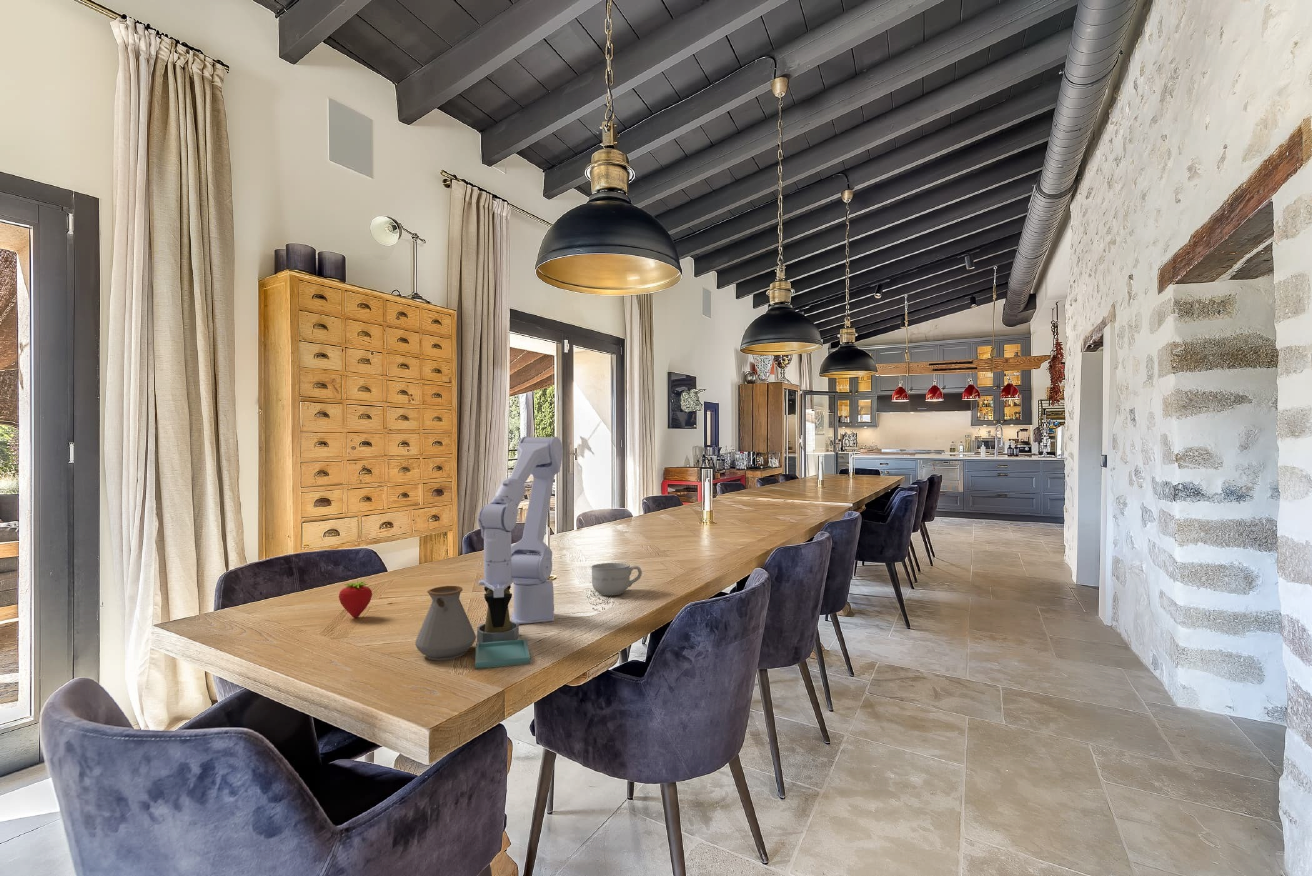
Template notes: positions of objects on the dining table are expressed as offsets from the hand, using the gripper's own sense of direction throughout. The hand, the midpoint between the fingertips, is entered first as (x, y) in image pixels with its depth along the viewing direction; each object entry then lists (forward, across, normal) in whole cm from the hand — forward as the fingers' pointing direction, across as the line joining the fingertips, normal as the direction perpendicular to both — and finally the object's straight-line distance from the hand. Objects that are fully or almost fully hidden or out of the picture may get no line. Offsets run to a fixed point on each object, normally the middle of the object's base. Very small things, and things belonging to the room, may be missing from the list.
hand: (497, 622), depth 130 cm
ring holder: (+3, 0, 0) cm, 3 cm away
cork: (+4, 0, 0) cm, 4 cm away
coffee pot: (+4, +11, -10) cm, 16 cm away
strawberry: (+4, -26, -32) cm, 41 cm away
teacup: (+4, -30, +32) cm, 44 cm away
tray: (+3, +11, 0) cm, 12 cm away
